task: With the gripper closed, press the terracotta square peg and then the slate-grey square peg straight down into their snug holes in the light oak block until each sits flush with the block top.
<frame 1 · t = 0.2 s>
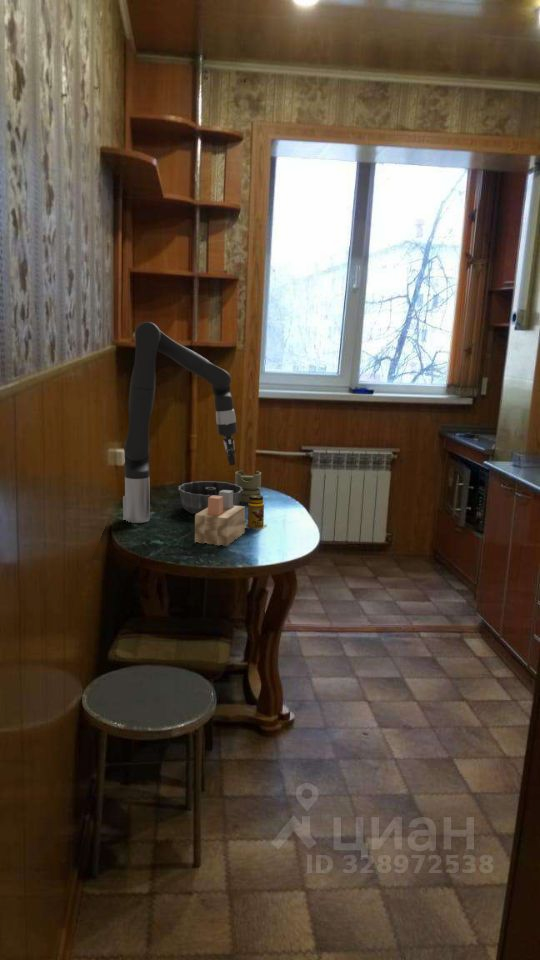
hand: (231, 462, 276), 22 cm above the table, tool pointing down, fingers open, 8 cm apart
condiment: (253, 527, 271), on the table
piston: (247, 499, 314), on the table
peg terracotta: (215, 508, 248), point 12 cm above the table, slide at 0.0 cm
bundt pan: (210, 511, 292), on the table
peg grey: (225, 502, 257), point 12 cm above the table, slide at 0.0 cm
oak block: (220, 537, 255), on the table
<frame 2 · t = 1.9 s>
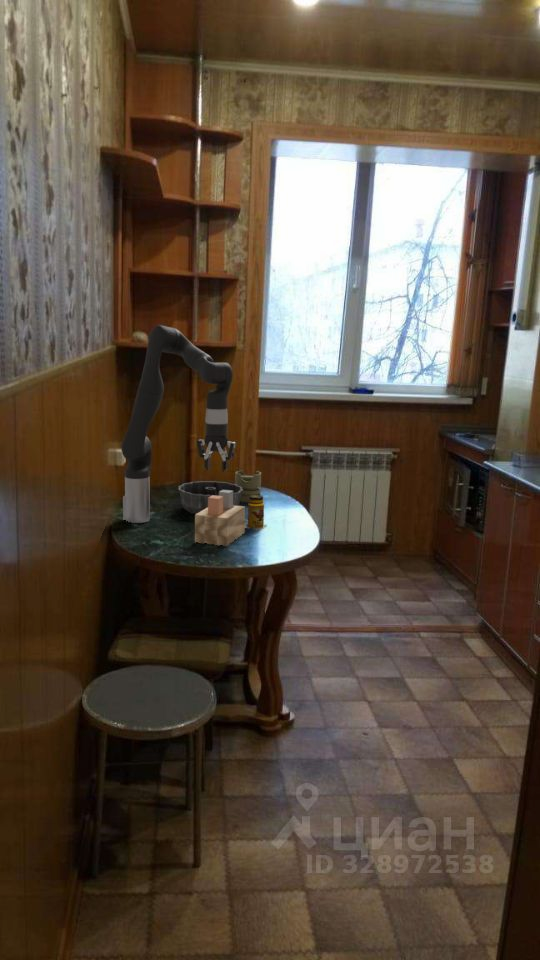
hand: (216, 470, 245), 25 cm above the table, tool pointing down, fingers open, 5 cm apart
nothing on the table moved.
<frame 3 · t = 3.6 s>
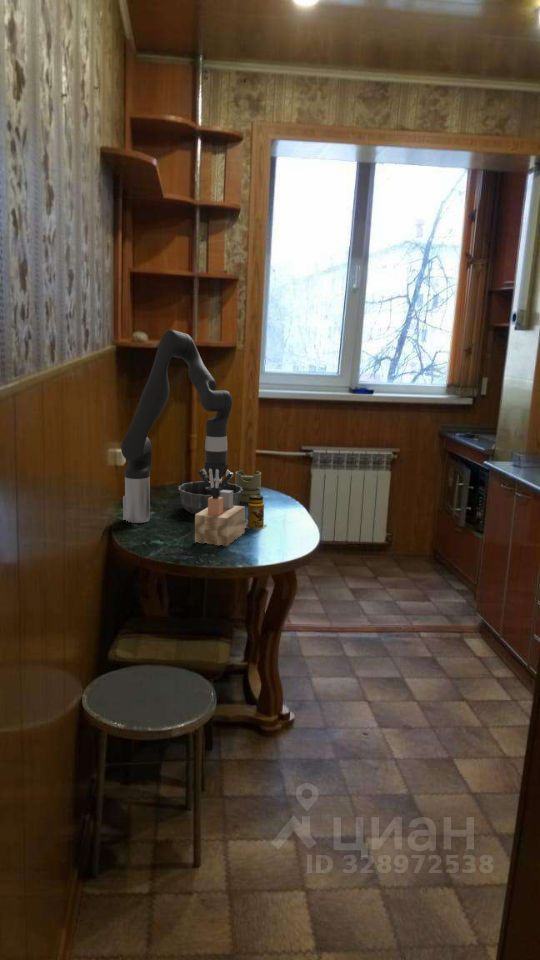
hand: (215, 497, 247), 16 cm above the table, tool pointing down, fingers closed
peg terracotta: (215, 509, 248), point 12 cm above the table, slide at 0.4 cm, touching gripper
everything else where it was.
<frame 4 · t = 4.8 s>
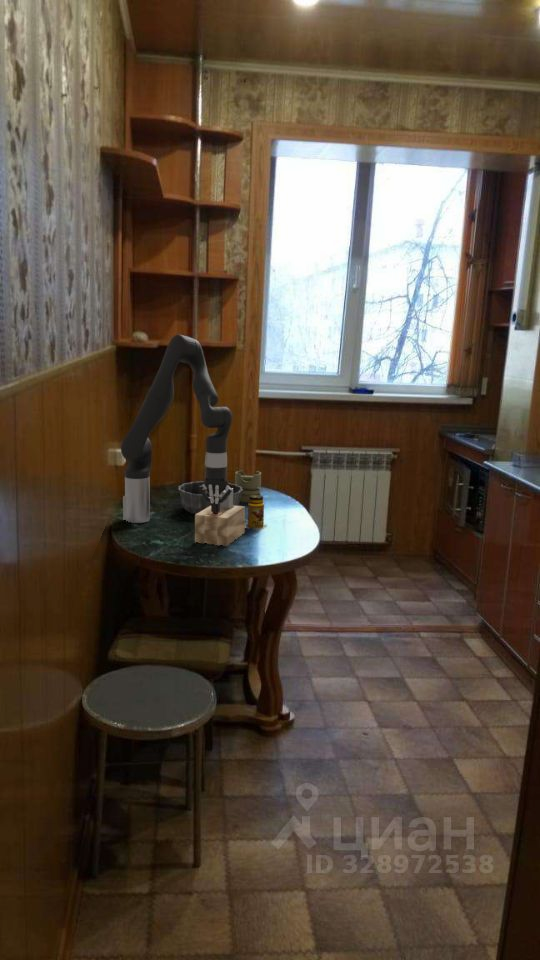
hand: (215, 513, 248), 10 cm above the table, tool pointing down, fingers closed
peg terracotta: (215, 524, 249), point 6 cm above the table, slide at 5.9 cm, touching gripper
everything else where it was.
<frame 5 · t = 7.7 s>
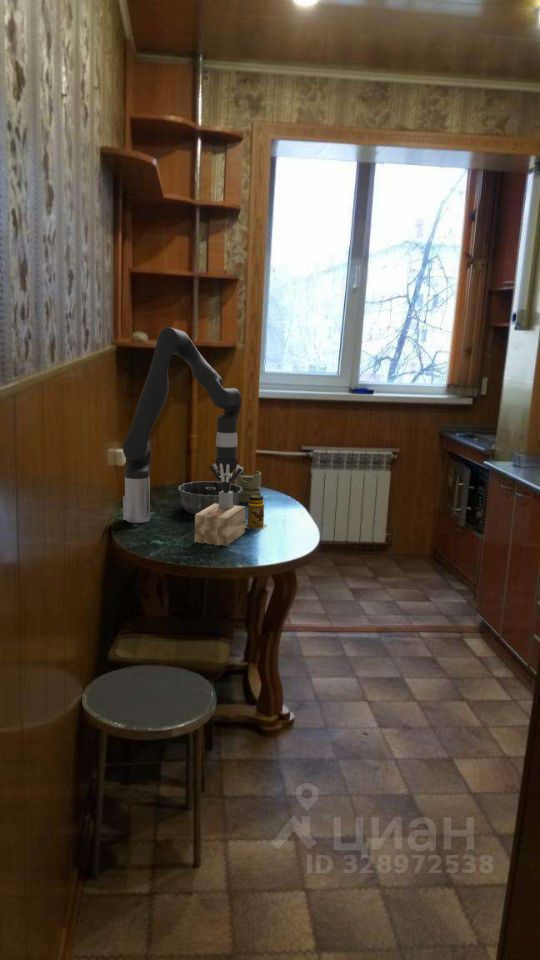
hand: (226, 491, 256), 16 cm above the table, tool pointing down, fingers closed
peg terracotta: (215, 524, 249), point 6 cm above the table, slide at 6.0 cm
peg grey: (225, 502, 257), point 12 cm above the table, slide at 0.3 cm, touching gripper
everything else where it was.
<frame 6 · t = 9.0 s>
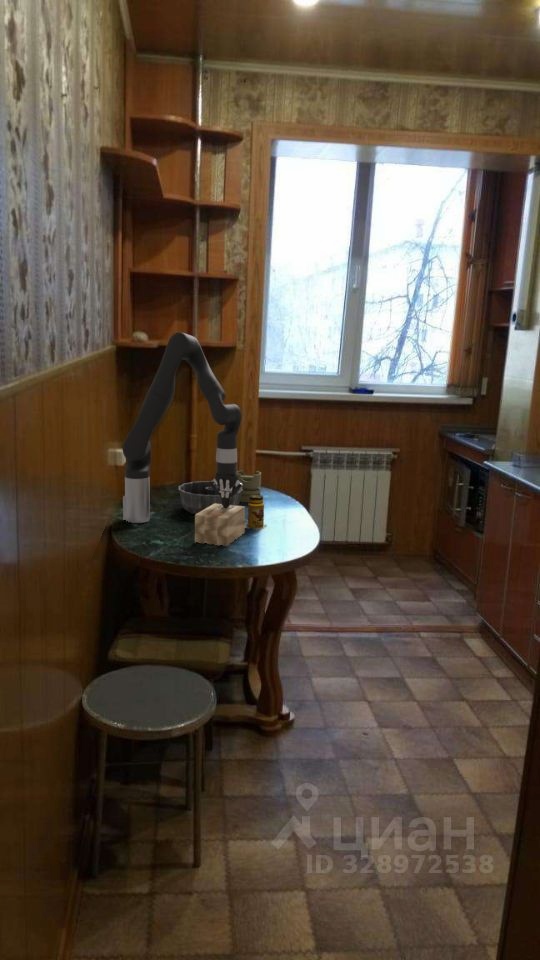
hand: (225, 507, 257), 10 cm above the table, tool pointing down, fingers closed
peg grey: (225, 517, 258), point 6 cm above the table, slide at 5.9 cm, touching gripper
everything else where it was.
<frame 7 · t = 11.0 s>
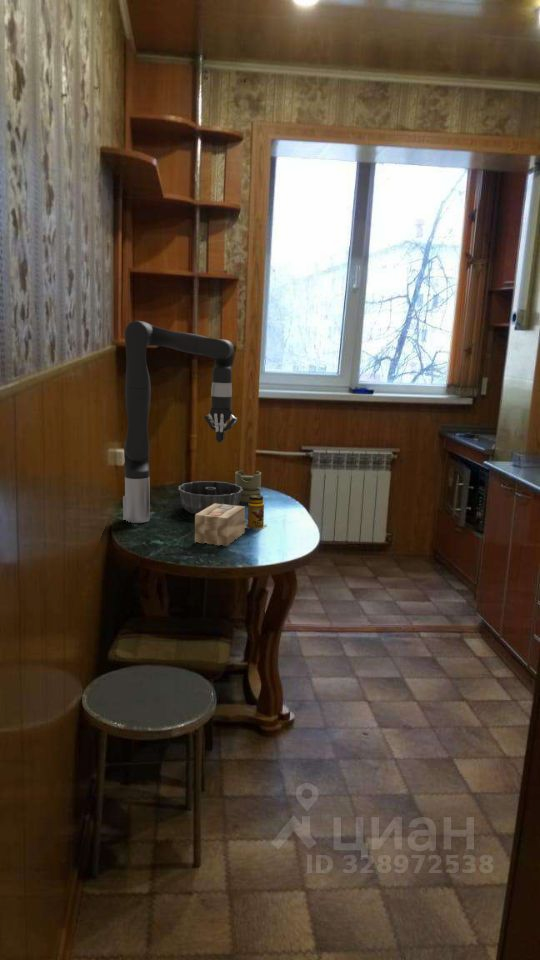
hand: (220, 441, 263), 32 cm above the table, tool pointing down, fingers closed
peg grey: (225, 517, 258), point 6 cm above the table, slide at 6.0 cm
everything else where it was.
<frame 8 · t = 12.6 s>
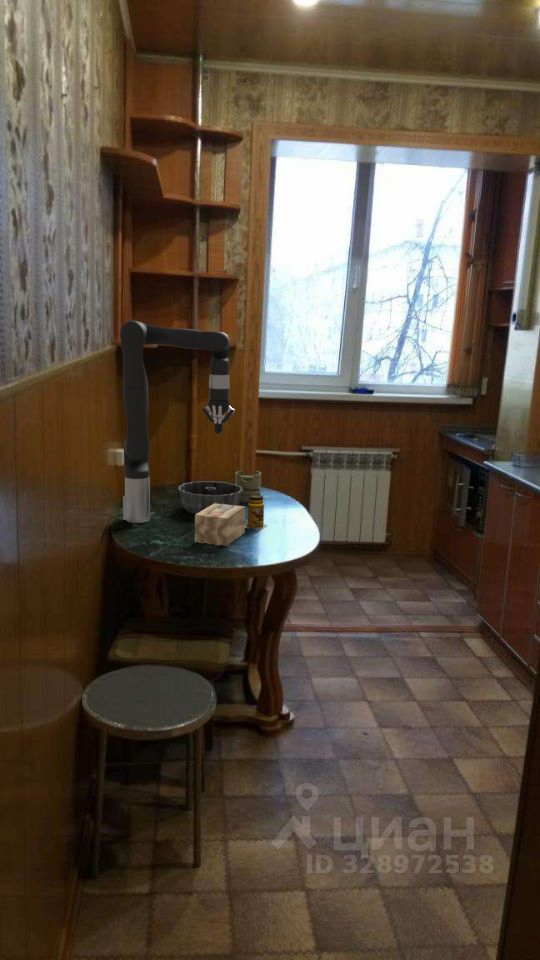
hand: (218, 433, 266), 35 cm above the table, tool pointing down, fingers closed
nothing on the table moved.
at the end: peg terracotta slide at 6.0 cm; peg grey slide at 6.0 cm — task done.
